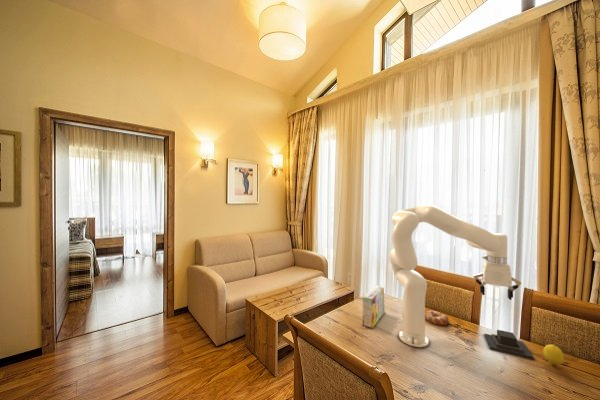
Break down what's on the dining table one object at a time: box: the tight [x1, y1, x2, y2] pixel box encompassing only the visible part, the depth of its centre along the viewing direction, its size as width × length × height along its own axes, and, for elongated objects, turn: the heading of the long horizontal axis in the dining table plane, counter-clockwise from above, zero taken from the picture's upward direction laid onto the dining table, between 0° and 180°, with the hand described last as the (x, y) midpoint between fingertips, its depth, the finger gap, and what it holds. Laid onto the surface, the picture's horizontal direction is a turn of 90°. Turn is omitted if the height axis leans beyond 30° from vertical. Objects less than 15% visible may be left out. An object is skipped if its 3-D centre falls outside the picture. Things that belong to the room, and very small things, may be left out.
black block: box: [496, 329, 518, 348], centre depth 104 cm, size 6×6×4 cm
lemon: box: [542, 344, 565, 366], centre depth 93 cm, size 6×6×8 cm
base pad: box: [483, 333, 534, 360], centre depth 104 cm, size 12×14×2 cm
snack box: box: [362, 284, 386, 329], centre depth 129 cm, size 21×6×15 cm, turn 144°
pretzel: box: [425, 310, 449, 326], centre depth 127 cm, size 12×11×4 cm
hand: (496, 296), depth 109 cm, fingers open, 9 cm apart
